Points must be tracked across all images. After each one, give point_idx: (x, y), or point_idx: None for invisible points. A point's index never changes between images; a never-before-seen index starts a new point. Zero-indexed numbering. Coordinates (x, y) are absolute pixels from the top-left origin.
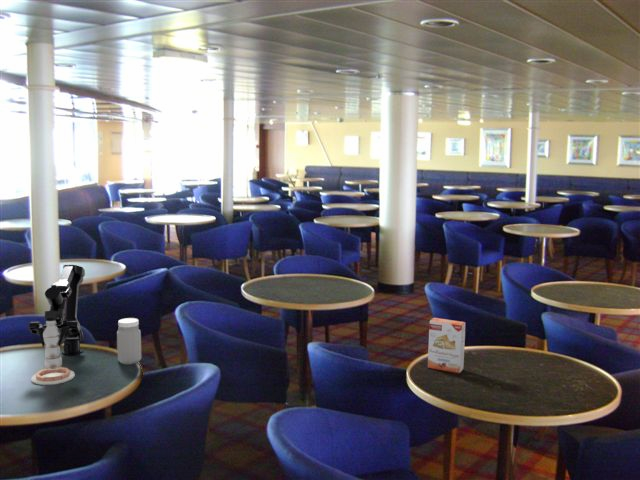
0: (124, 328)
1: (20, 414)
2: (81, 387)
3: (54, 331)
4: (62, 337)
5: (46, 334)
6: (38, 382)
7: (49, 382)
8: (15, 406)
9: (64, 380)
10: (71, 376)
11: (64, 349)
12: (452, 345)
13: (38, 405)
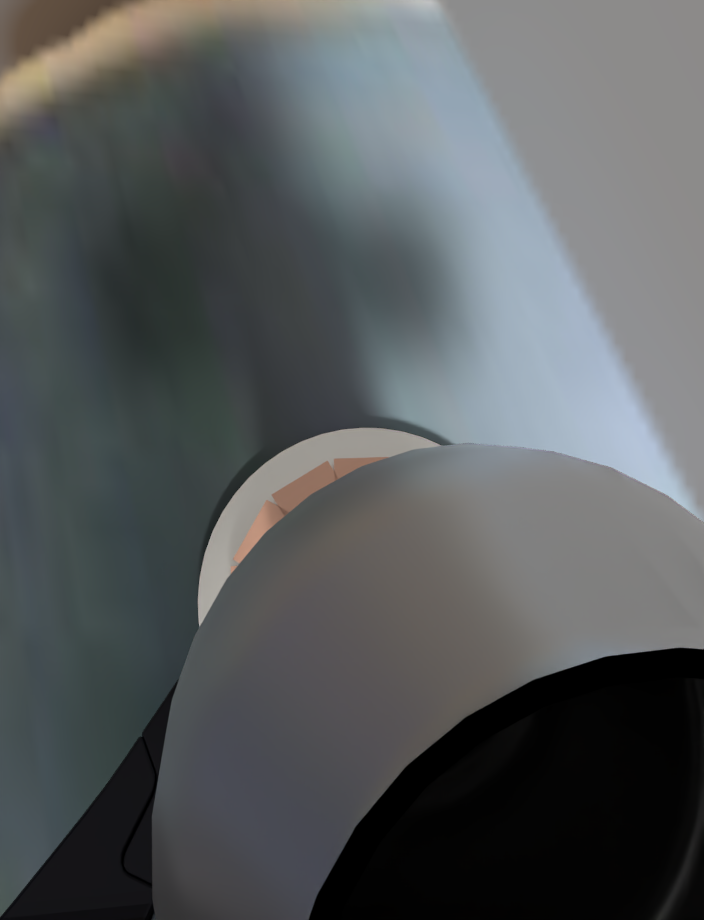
0: None
1: (362, 3)
2: (99, 375)
3: (297, 557)
4: (155, 737)
5: (562, 454)
6: (434, 444)
7: (351, 441)
8: (433, 102)
9: (247, 480)
10: (213, 572)
11: None
12: None
13: (304, 105)
